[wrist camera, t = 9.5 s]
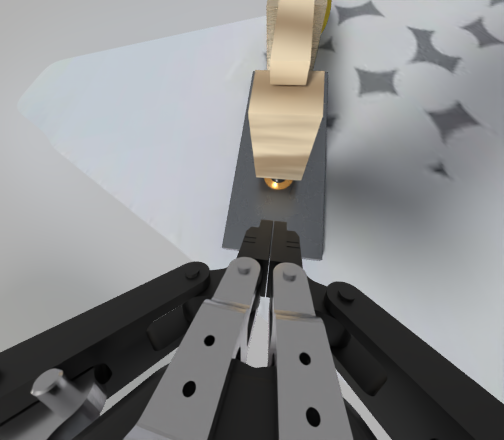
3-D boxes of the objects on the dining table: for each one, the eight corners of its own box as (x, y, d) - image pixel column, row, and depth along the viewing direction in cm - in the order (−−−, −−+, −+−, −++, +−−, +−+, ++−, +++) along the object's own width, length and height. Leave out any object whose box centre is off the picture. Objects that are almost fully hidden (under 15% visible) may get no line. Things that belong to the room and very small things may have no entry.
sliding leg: (299, 186, 22) (332, 87, 11) (256, 182, 23) (244, 85, 11) (308, 62, 28) (336, -94, 16) (273, 62, 28) (277, -89, 17)
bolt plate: (319, 260, 21) (377, 242, 10) (224, 249, 23) (179, 220, 11) (325, 80, 29) (363, -50, 17) (253, 79, 30) (244, -43, 19)
